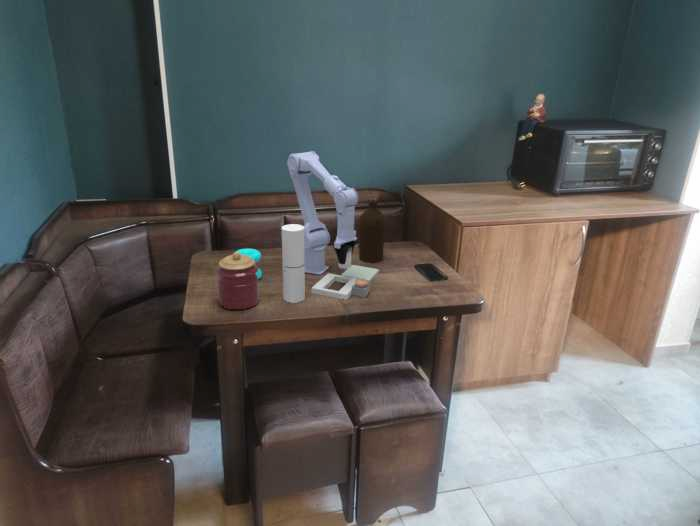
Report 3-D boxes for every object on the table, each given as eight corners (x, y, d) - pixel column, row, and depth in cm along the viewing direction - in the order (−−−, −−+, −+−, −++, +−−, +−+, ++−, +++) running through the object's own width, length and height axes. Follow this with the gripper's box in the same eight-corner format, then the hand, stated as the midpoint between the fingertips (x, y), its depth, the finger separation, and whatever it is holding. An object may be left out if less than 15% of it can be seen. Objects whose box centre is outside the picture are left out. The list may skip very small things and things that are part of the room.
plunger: (352, 294, 181) (352, 282, 180) (357, 289, 185) (357, 277, 184) (364, 296, 180) (365, 284, 178) (369, 291, 184) (369, 279, 182)
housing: (311, 293, 182) (311, 285, 181) (328, 278, 194) (328, 270, 193) (360, 303, 176) (360, 294, 175) (374, 286, 188) (374, 279, 187)
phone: (431, 262, 208) (449, 277, 195) (431, 265, 209) (448, 280, 195) (412, 264, 206) (429, 279, 193) (412, 267, 206) (429, 282, 193)
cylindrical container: (296, 305, 173) (294, 232, 164) (279, 299, 177) (276, 228, 167) (309, 297, 179) (308, 226, 170) (292, 291, 182) (290, 222, 173)
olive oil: (389, 258, 214) (392, 198, 204) (373, 265, 206) (376, 203, 196) (368, 251, 220) (370, 193, 210) (352, 259, 212) (353, 198, 203)
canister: (261, 308, 170) (259, 257, 164) (220, 313, 167) (216, 261, 160) (256, 291, 182) (254, 243, 175) (218, 295, 178) (214, 246, 172)
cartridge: (335, 267, 186) (336, 248, 183) (341, 262, 190) (341, 244, 187) (348, 269, 184) (348, 250, 181) (353, 265, 188) (354, 246, 185)
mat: (340, 277, 195) (340, 275, 194) (352, 267, 204) (352, 264, 204) (369, 282, 191) (369, 280, 191) (379, 271, 200) (379, 269, 200)
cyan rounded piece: (236, 259, 183) (229, 249, 191) (238, 285, 186) (230, 275, 195) (264, 255, 187) (256, 245, 195) (265, 280, 191) (257, 270, 199)
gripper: (348, 232, 173) (347, 270, 179) (364, 220, 186) (363, 256, 191) (328, 229, 176) (328, 266, 181) (346, 217, 188) (345, 252, 193)
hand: (344, 261), depth 186 cm, fingers closed on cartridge, 5 cm apart
